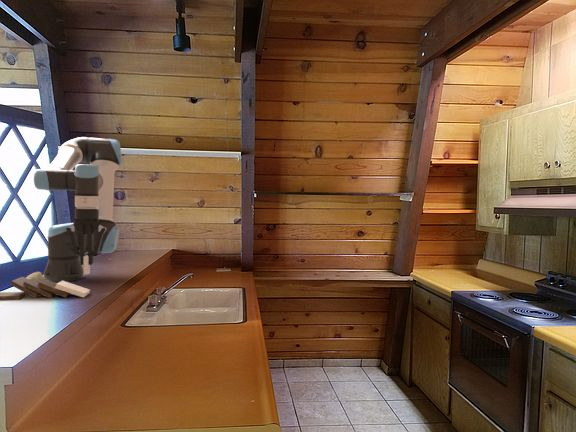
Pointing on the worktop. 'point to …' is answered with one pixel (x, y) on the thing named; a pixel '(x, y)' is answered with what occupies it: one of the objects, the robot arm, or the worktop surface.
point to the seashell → (36, 276)
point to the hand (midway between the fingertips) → (86, 273)
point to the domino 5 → (72, 289)
